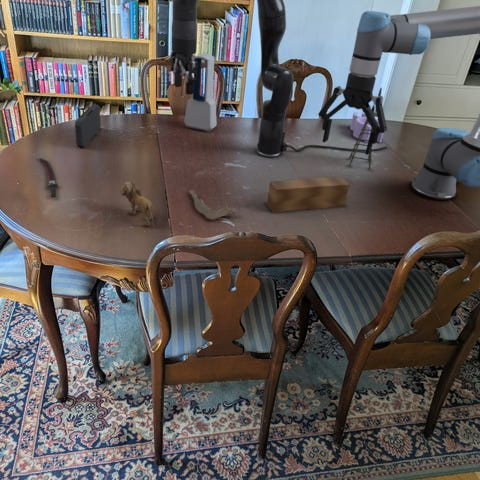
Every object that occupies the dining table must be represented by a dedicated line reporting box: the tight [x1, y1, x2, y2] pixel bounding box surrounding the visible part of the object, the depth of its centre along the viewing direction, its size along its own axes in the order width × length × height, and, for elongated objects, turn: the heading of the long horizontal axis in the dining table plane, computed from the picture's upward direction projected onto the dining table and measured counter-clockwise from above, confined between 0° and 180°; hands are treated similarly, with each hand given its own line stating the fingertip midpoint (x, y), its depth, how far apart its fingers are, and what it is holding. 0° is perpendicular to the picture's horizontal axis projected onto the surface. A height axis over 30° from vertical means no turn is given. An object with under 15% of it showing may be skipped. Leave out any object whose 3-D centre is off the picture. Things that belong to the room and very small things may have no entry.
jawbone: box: [188, 189, 239, 221], centre depth 143 cm, size 9×20×2 cm, turn 50°
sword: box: [40, 158, 59, 198], centre depth 151 cm, size 31×3×1 cm, turn 26°
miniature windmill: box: [348, 86, 383, 170], centre depth 177 cm, size 9×8×30 cm
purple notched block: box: [349, 112, 384, 143], centre depth 214 cm, size 20×12×7 cm, turn 11°
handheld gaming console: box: [74, 103, 101, 148], centre depth 180 cm, size 23×3×10 cm, turn 178°
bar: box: [266, 176, 350, 213], centre depth 150 cm, size 26×6×8 cm, turn 109°
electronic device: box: [183, 53, 218, 133], centre depth 195 cm, size 12×8×30 cm, turn 71°
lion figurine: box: [119, 181, 159, 227], centre depth 134 cm, size 15×5×9 cm, turn 50°
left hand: (183, 90), depth 148 cm, fingers open, 8 cm apart
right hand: (346, 147), depth 140 cm, fingers open, 13 cm apart
